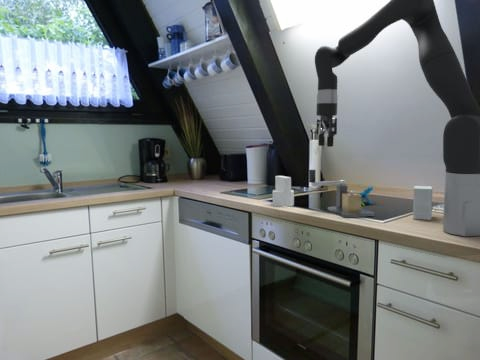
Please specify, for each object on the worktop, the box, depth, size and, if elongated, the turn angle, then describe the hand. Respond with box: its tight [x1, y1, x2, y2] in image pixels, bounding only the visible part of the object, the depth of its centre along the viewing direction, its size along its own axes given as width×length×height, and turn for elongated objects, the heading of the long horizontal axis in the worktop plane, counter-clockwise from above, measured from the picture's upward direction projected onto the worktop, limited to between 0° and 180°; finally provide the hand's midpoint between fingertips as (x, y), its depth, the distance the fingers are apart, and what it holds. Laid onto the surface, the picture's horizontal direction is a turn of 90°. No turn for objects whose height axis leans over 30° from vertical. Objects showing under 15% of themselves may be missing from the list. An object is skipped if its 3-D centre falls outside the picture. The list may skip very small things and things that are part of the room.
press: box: [327, 185, 375, 219], centre depth 132 cm, size 16×11×9 cm
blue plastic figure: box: [359, 186, 374, 206], centre depth 149 cm, size 11×6×10 cm
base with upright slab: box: [272, 175, 295, 207], centre depth 151 cm, size 9×9×12 cm
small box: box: [412, 185, 433, 221], centre depth 121 cm, size 8×6×10 cm
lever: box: [308, 169, 347, 187], centre depth 136 cm, size 15×3×6 cm, turn 99°
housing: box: [342, 190, 362, 212], centre depth 130 cm, size 5×5×7 cm
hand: (325, 146), depth 135 cm, fingers open, 8 cm apart
